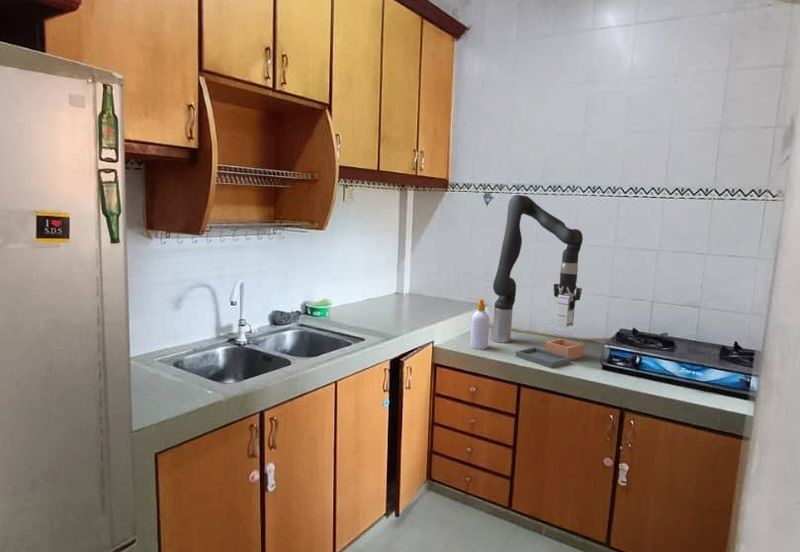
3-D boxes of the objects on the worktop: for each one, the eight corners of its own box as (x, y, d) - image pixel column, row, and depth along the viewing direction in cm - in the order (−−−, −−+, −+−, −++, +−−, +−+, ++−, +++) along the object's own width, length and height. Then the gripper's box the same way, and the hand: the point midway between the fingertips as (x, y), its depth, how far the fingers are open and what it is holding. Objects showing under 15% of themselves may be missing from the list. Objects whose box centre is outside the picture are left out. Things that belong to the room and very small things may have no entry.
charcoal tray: (515, 356, 244) (515, 351, 243) (534, 352, 252) (534, 346, 252) (551, 368, 228) (551, 362, 228) (570, 363, 237) (570, 357, 236)
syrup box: (566, 327, 242) (569, 296, 240) (555, 324, 246) (557, 294, 244) (573, 325, 246) (575, 295, 243) (562, 323, 250) (564, 293, 248)
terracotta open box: (544, 354, 249) (545, 341, 249) (560, 350, 257) (561, 338, 256) (567, 360, 240) (568, 348, 239) (582, 356, 247) (583, 344, 247)
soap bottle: (487, 344, 263) (489, 298, 259) (488, 349, 253) (491, 301, 250) (469, 343, 263) (472, 297, 260) (470, 348, 254) (473, 300, 251)
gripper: (550, 270, 245) (548, 305, 248) (578, 274, 234) (574, 311, 237) (560, 269, 250) (557, 304, 253) (587, 273, 239) (584, 309, 241)
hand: (565, 307), depth 245 cm, fingers closed on syrup box, 6 cm apart
